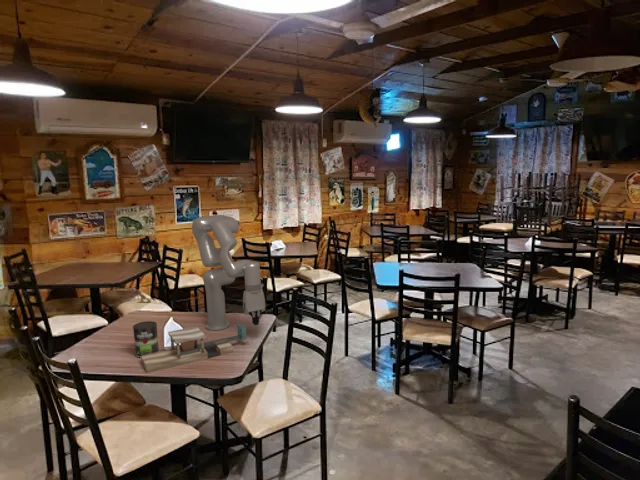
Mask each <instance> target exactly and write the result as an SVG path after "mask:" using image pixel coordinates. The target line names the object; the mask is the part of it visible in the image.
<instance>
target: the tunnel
mask: <svg viewBox="0 0 640 480" xmlns="http://www.w3.org/2000/svg"><path fill="white" fill-rule="evenodd" d="M167 333H168V336H169V337H170V346H171V348H169V349H165V350H161V351H160V350H159V352H156V353H151V354H147V355H142V356H141V358H140V360H141V364H142V363H143V364H142V366H143V368H144V369H145V372H146V373H147V374H149V373H152V372H156V371H160V370H165V369H169V368H173V367H176V366H177V367H178V366H181V365H185V364H190V363H193V362H198V361H203V360H206V359H211V358H216V357H219V356H223V355H227V354H232V353H234V346H233V345H232V344H231V343H230V341H229V342H225V343H220V344H216V345H212V346H207V347H204V343H205V341H204V339H206V334H205V333H204V332H203V331H202V330H201V329H200V328H199V327H198V326H196V325H195V326H191V327H186V328H181V329H177V330H172V331H168V332H167ZM223 338H224V337H220V338H216V339H211V341H214V340H219V339H223ZM193 340H194V342H195V343H196V344H201V348H200V351H198V352H194V353H190V354H185V355H181V356H180V350H181V349H180V346H179V345H180V343H183V342H188V341H193ZM198 340H200V342H198ZM175 345H176V346H177V350H176V347H175Z"/></svg>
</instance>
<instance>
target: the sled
mask: <svg viewBox="0 0 640 480" xmlns="http://www.w3.org/2000/svg"><path fill="white" fill-rule="evenodd" d="M236 327H237V328H236V329H237V335H232V336H228V337H222V338H223V339H219V338H218V339H219V340H215V339H213V340H214V341H212V340H211V341H210V340H209V341H206V342H205V341H204V347H207V346H212V345H216V344H220V343H225V342H229V343H230V342H232V341H238V340H241V341H246V340H247V329H246V326H244V325H243V323H239V324H236ZM179 346H180V349H181V345H180V344H179ZM194 347H195V348H194V349H190V350H185V351H181V350H180V356H181V355H185V354H190V353H194V352H198V351H200V348H201V343H200V344H196V343H195V342H194ZM175 348H176V350H177V345H176V346H175Z"/></svg>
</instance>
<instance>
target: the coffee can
mask: <svg viewBox="0 0 640 480" xmlns="http://www.w3.org/2000/svg"><path fill="white" fill-rule="evenodd" d="M157 326H158V324H157V321H152V320H151V321H150V320H148V321H141V322H137V323H136V324H134V325H133V326H132V329H133V339H134V349H135V356H137V357H136V358H138V357H140V358H139V359H141V356H142V355H147V354H151V353H156V352H160V349H159V339H158V327H157Z"/></svg>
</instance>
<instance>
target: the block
mask: <svg viewBox="0 0 640 480" xmlns="http://www.w3.org/2000/svg"><path fill="white" fill-rule="evenodd" d="M179 345H181V351H185V350H190V349H194V348H195V347H194V340H193V341H188V342H183V343H179Z"/></svg>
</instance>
